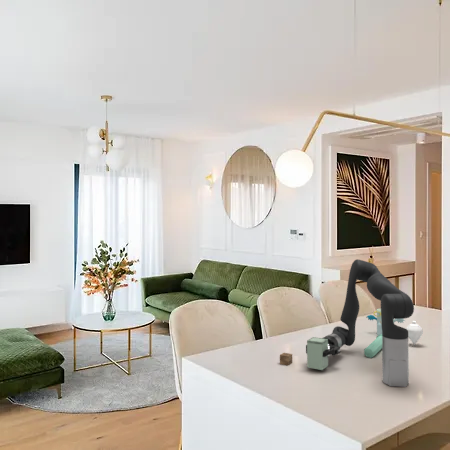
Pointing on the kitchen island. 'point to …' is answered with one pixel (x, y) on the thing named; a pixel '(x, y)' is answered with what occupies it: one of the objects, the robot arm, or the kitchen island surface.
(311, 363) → the tall sage green box
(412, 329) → the spinning top
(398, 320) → the character sculpture
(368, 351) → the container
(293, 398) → the kitchen island surface
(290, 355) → the walnut block
